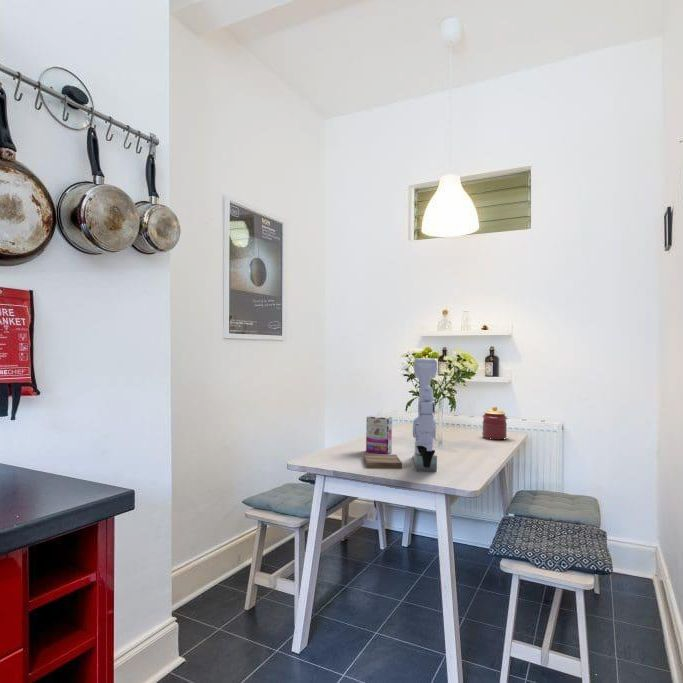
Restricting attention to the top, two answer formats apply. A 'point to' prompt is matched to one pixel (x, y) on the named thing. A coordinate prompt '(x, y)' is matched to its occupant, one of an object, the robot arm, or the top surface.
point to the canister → (494, 424)
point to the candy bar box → (379, 434)
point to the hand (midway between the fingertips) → (425, 465)
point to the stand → (382, 461)
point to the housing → (420, 466)
